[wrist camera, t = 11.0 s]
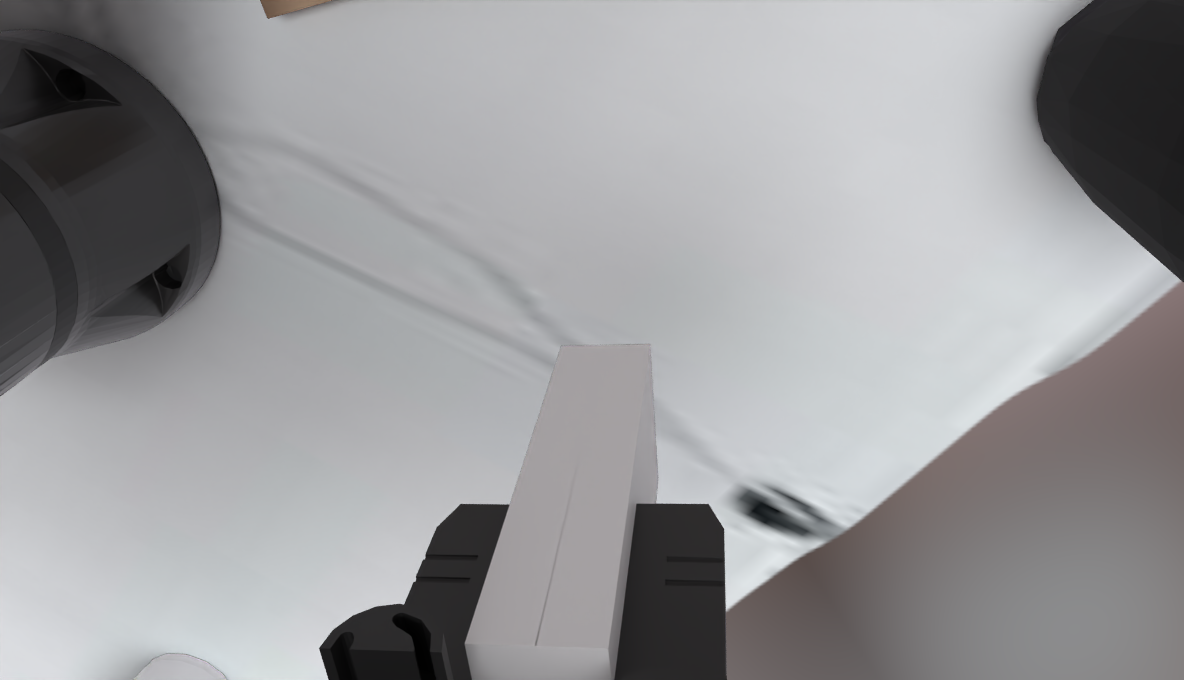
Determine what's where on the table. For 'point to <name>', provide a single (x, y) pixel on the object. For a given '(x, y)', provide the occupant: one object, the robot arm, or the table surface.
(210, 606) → the table surface
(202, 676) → the foam cup
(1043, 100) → the portable speaker
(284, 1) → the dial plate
